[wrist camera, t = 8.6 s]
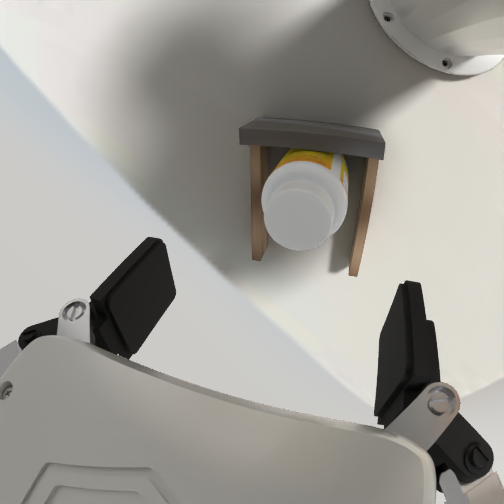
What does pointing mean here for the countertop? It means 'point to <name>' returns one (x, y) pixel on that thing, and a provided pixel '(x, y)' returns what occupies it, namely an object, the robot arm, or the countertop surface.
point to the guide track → (316, 139)
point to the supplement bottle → (305, 198)
